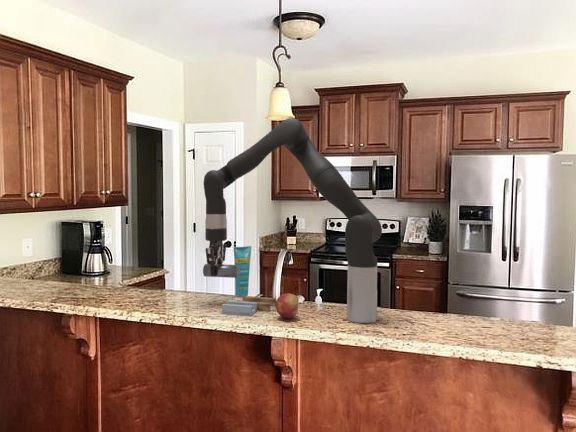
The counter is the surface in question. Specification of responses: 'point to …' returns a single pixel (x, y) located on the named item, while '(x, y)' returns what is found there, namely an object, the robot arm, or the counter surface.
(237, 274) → the grey cylinder
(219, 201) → the robot arm
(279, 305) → the fruit
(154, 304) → the counter surface
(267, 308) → the brown flat wooden block
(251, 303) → the v block
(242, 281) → the tube
